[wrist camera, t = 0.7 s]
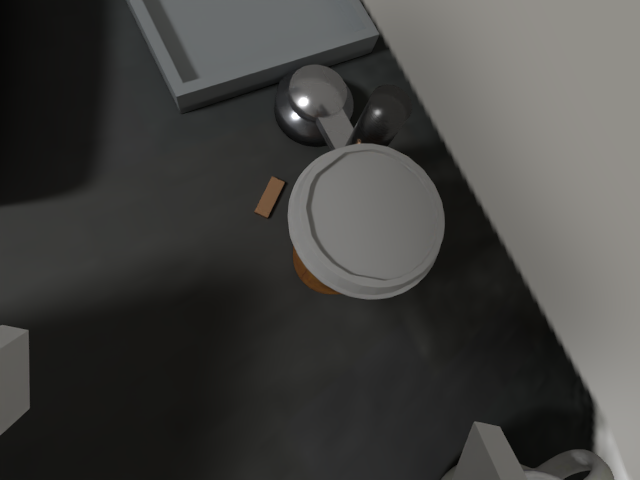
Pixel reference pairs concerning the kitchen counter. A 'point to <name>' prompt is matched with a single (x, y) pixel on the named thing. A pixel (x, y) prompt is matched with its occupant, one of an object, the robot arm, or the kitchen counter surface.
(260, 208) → the crank base
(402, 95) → the crank
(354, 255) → the disposable coffee cup
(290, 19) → the tray
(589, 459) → the teacup
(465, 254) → the kitchen counter surface
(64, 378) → the kitchen counter surface
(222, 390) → the kitchen counter surface
